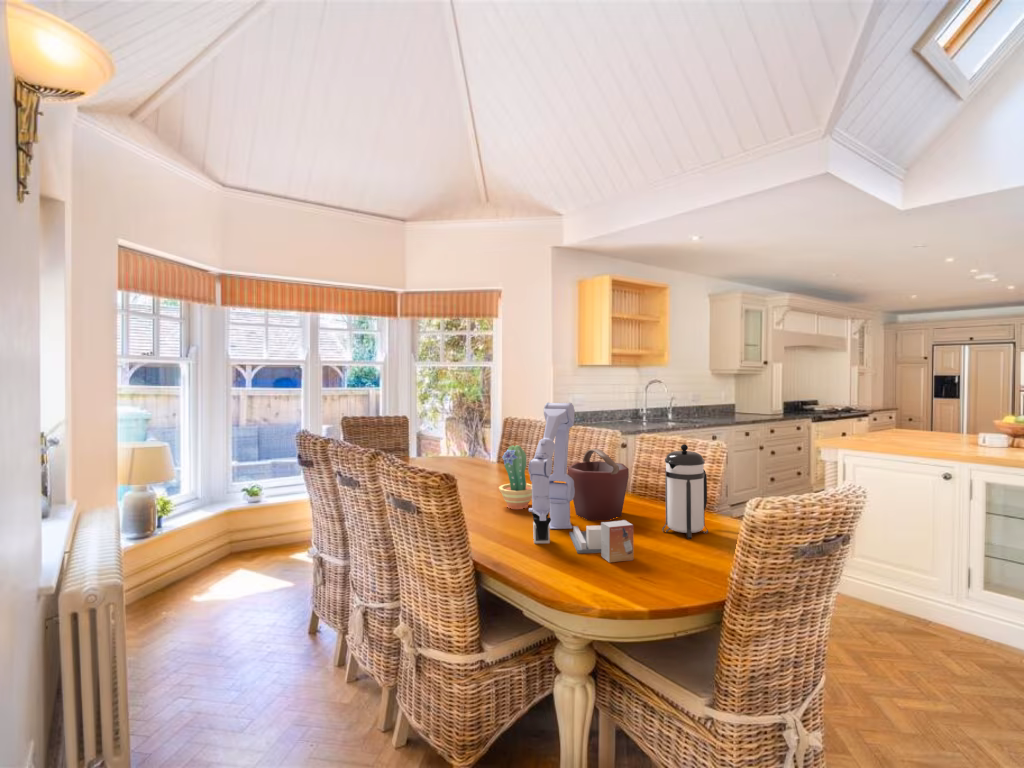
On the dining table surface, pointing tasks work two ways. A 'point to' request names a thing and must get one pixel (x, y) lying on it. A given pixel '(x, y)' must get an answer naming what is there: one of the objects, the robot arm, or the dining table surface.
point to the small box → (617, 541)
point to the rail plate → (587, 539)
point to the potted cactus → (516, 479)
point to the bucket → (599, 487)
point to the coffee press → (685, 492)
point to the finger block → (536, 538)
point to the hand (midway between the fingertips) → (541, 536)
